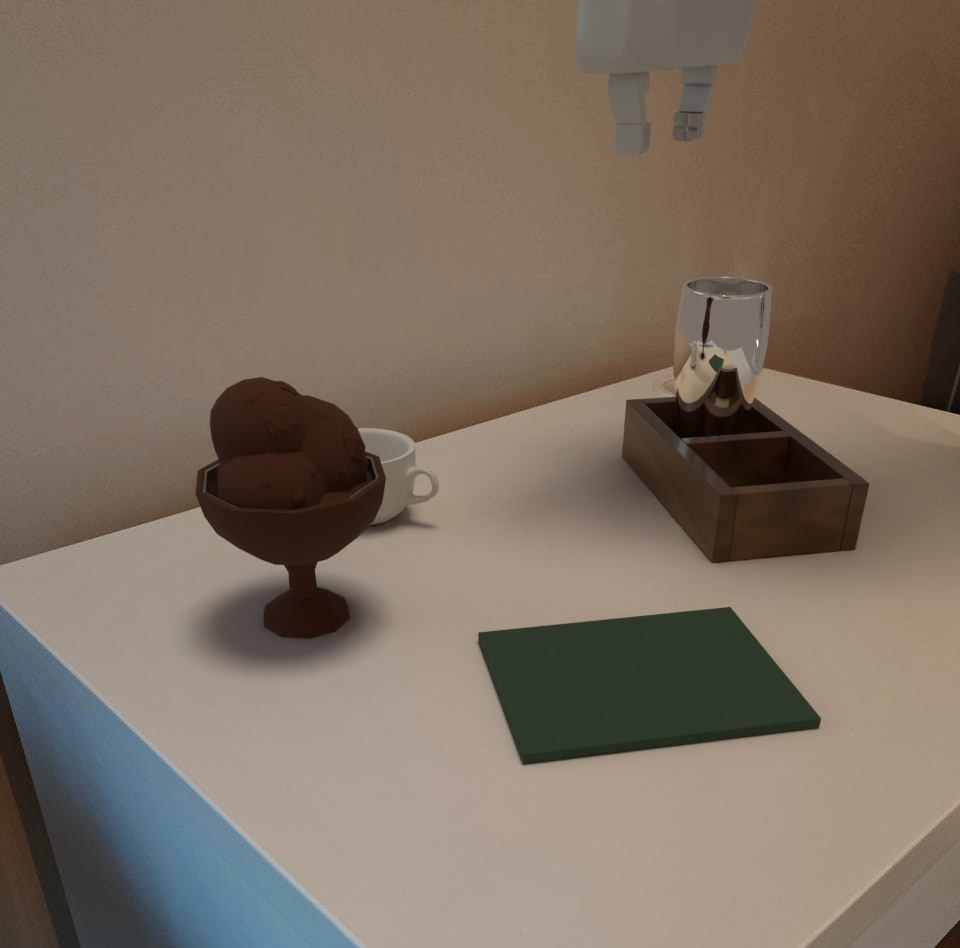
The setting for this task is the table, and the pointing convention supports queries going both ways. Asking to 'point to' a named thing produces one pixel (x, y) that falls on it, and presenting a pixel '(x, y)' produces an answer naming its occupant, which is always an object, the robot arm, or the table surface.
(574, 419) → the table surface
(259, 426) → the ice cream bowl
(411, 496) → the teacup
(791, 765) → the table surface
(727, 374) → the beer glass
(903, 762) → the table surface
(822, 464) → the divided wooden box
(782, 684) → the mat
